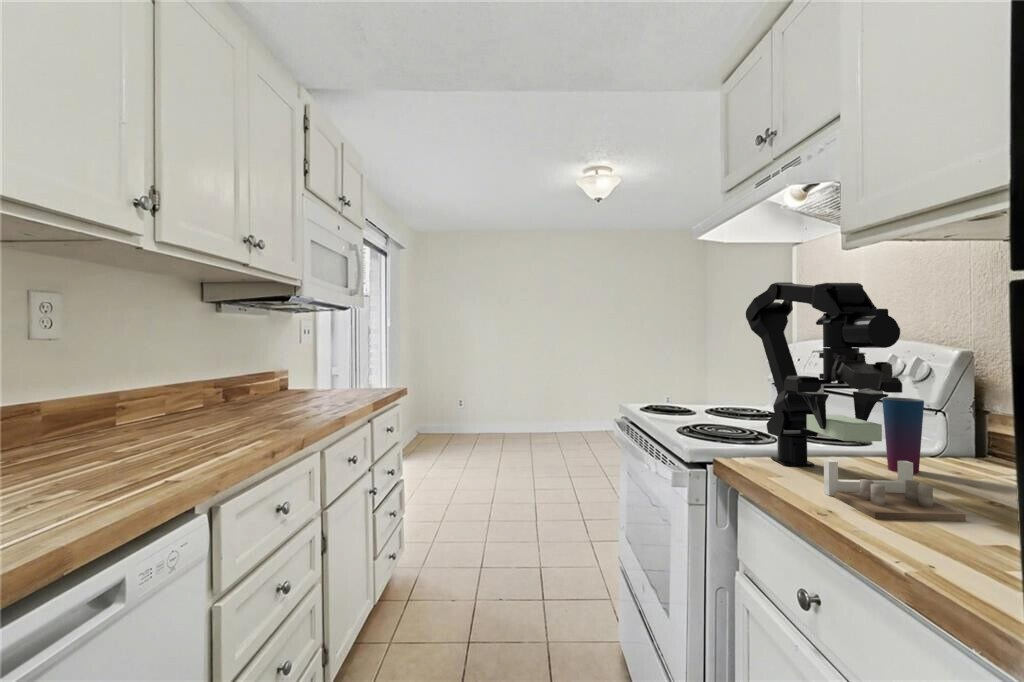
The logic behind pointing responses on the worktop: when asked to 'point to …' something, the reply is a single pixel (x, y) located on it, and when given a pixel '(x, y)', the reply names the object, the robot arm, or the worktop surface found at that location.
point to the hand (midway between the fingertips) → (841, 429)
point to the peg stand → (899, 502)
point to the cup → (903, 430)
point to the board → (846, 428)
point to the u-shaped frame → (854, 485)
